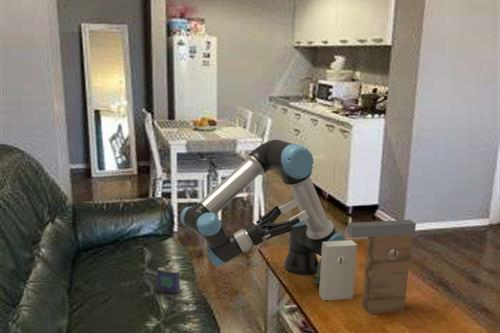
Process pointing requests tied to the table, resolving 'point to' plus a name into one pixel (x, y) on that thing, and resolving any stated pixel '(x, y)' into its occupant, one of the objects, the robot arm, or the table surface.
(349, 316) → the table surface
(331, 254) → the cream rectangular box
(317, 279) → the canned tomato
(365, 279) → the tall cabinet
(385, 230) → the grey square bar
